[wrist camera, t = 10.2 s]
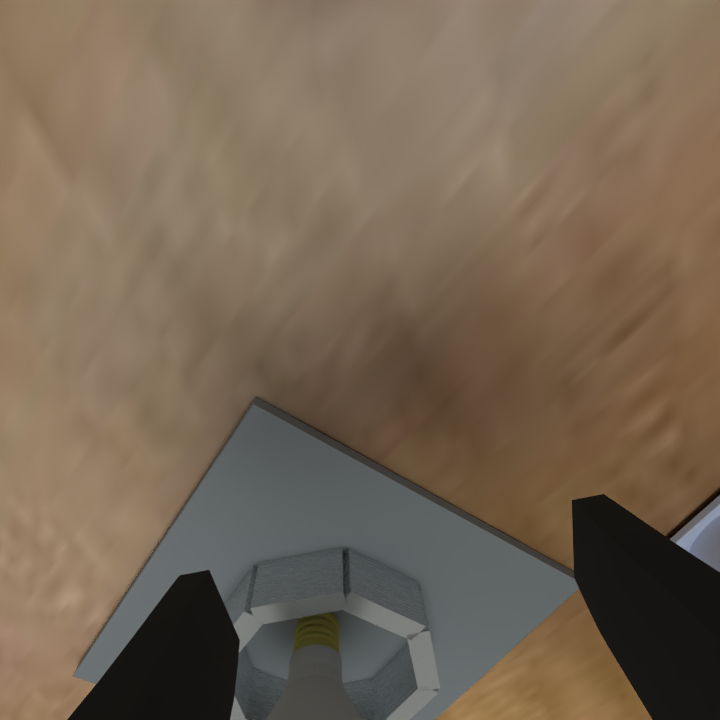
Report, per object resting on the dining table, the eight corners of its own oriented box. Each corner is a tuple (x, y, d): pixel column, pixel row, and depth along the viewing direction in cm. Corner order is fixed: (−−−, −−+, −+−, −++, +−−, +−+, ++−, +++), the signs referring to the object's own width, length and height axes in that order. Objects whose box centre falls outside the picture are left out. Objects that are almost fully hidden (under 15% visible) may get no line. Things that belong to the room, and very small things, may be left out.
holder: (577, 573, 23) (610, 629, 20) (370, 766, 28) (373, 831, 26) (255, 397, 19) (242, 437, 16) (78, 664, 24) (45, 729, 21)
